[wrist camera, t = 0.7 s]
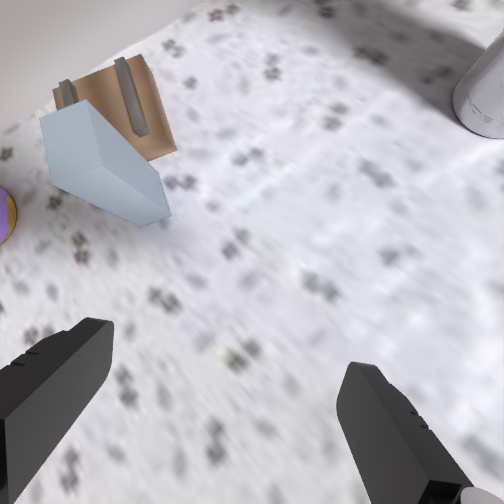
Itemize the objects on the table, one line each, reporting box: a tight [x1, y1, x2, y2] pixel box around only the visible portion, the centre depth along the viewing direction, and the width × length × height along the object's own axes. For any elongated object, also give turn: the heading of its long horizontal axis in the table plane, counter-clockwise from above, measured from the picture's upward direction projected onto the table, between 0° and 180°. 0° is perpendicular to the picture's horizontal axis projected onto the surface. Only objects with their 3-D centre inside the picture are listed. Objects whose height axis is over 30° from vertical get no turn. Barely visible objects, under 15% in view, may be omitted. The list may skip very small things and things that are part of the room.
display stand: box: [53, 54, 177, 162], centre depth 31 cm, size 12×12×4 cm
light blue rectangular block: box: [39, 99, 171, 227], centre depth 25 cm, size 4×6×12 cm
